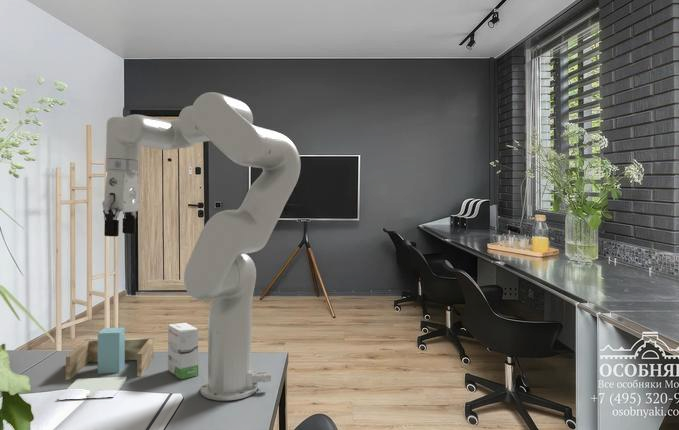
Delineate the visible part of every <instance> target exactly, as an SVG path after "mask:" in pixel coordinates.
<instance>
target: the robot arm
mask: <svg viewBox="0 0 679 430" xmlns="http://www.w3.org/2000/svg"><path fill="white" fill-rule="evenodd" d="M106 121H107V122H106V135H105V136H106V137H105V139H106V141H105V143H106V144H105V146H106V147H105V173H106V178H105V187H104V200H103V201H102V202H101V203H102V205H101V206H102V208H103V211H102V212H103V219H104V236H105V237H119V232H120V231H119V230H120V228H119V226H120V224H119V223H120V220H119V219H118V218H119V215H120V213H121V212H122V214H123V217H122V234H130V235H131V234H135V233H136V228H137V227H136V226H137V225H136V224H137V223H136V221H137V219H136V218H137V212H138V211H139V209H140V189H139V187H140V186H139V185H140V184H139V178H138V177H139V176H138V174H139V159H140V157H139V156H140V153H139V152H140V151H139V150H140V147H141V148H150V149H154V150H162V151H163V150H164V151H168V150H169V151H170V150H179V149H186V148H191V147H193V146H195V145H197V144H198V143H204V142H211V143H212V144H213V145H214V146H215V147H216V148H217V149H218V150H219V151H221V152H222V153H223V154H224V156H226V157H227V158H228V159H229V160H231V161H232V162H234V163H235V164H238V165H240V166H244V167H251V168H258V169H262V172H261V173H260V175H259V176H258V177H257V178H256V179H255V181H254V182H253V183H252V184H251V186H250V187H249V189H248V191H247V193H246V195H245V198H244V200H243V201H242V203H241V205H239V208H237V209H225V210H221V211H219V212H216V213H215V214H214V215H212V216H211V217H210V218H209V219H208V220H207V222H206V223H205V224H204V227H203V228H202V230H201V232H200V235H199V237H198V238H197V241H196V244H195V245H194V247H193V250H192V252H191V255H190V257H189V258H188V261H187V264H186V267H185V269H184V274H183V284H184V288H185V290H186V292H187V293H188V295H189V296H191V297H192V298H194V299H195V300H199V301H210V300H211V301H210V305H209V310H208V328H207V329H208V339H207V341H208V342H207V343H208V346H207V347H208V348H207V353H208V354H207V362H208V363H207V364H208V365H207V380H206V381H205V382H203V383H202V384H201V386H200V394H201V396H203V398H206V399H209V400H211V401H219V402H221V401H222V402H225V401H226V402H228V401H236V400H241V399H246V398H248V397H250V396H252V395H254V394H255V393H256V392H257V390H258V387H259V386H258V383H272V373H271V372H269V373H268V372H267V373H266V370H260V371H256V370H255V369H253V365H252V322H253V321H252V320H253V319H252V316H253V298H254V292H255V287H256V280H257V268H256V265H255V262H254V261H253V259H252V257H250V256H249V255H248V254H252V253H256V252H259V251H260V250H262V249H263V248H265V246H266V244H267V243H268V241H269V239H270V238H271V235H272V233H273V231H274V229H275V227H276V225H277V223H278V221H279V219H280V217H281V215H282V213H283V211H284V208H285V205H286V204H287V202H288V201H289V198H290V197H291V195H292V193H293V191H294V190H295V189H294V188H295V187H296V185H297V183H298V180H299V177H300V174H301V156H300V153H299V151H298V149H297V147H296V145H295V144H294V142H293V141H292V140H291V139H290V138H289V137H288V136H286V135H285V134H283V133H281V132H278V131H275V130H272V129H268V128H264V127H261V126H257V125H254V116H253V113H252V110H251V109H250V107H249V106H248V105H247V104H246V103H245V102H244V101H241V100H240V99H237V98H233V97H231V96H228V95H225V94H222V93H220V92H214V91H212V92H211V91H209V92H204V93H203V94H201V95H200V96H198V97H197V98H196V99H195V100H194V102H193V104H192V105H188V106H185V107H183V109H181V111H180V113H179V115H178V119H175V120H174V119H173V120H164V119H161V118H157V117H152V116H148V115H144V114H136V113H135V114H129V115H126V116H111V117H109V118H108V119H107V120H106Z"/></svg>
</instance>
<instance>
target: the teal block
mask: <svg viewBox="0 0 679 430" xmlns="http://www.w3.org/2000/svg"><path fill="white" fill-rule="evenodd" d="M125 331H126V328H125V327H104V328H102V329H101V330H100V331H98V332H97V340H98V361H97V374H115V373H116V374H119V373H120V372H121V371H122V370H123V368H124V367H125V361H126V360H125V339H126V337H125V334H126V332H125Z"/></svg>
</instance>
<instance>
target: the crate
mask: <svg viewBox="0 0 679 430" xmlns="http://www.w3.org/2000/svg"><path fill="white" fill-rule="evenodd" d="M153 359H154V337H141V338H140V337H138V338H125V361H133V360H134V361H136V363H137V364H136V366H137V367H136V369H137V370H136V376H137V377H142V376H143V375H144V373H145V371H146V370H147V369H148V367H149V365H150V364H151V362H152V360H153ZM92 361H93V363H95V362H98V339H86V340H85V341H83V342H82V343H81V344H79V346H77V347H76V348H75V349H74V350H73V351H71V352H70V353H68V355H66V356H65V380H66V381H68V380H69V381H70V380H71V379H73V378H74V377H75V376H76V375H77V374H78V373H79V372H80V371H81V370H82V369H83V368H84V367H85V366H86V365H87V364H89V362H92Z"/></svg>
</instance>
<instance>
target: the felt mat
mask: <svg viewBox="0 0 679 430" xmlns="http://www.w3.org/2000/svg"><path fill="white" fill-rule="evenodd" d="M127 380H128V378H127V376H115V377H113V376H112V377H111V376H110V377H93V378H92V377H91V378H90V377H89V378H76V380H74V382H72V383H71V384H70V385H69V387H68V388H66V390H69V389H85V390H89V391H90V393H89V394H87V395H86V397H87V398H88V397H90V396H92V394H93V393H94V392H96V391H100V390H116V391H117V390H119V391H120V389H121V388H122V386H124V384H125V382H126V381H127Z"/></svg>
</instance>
